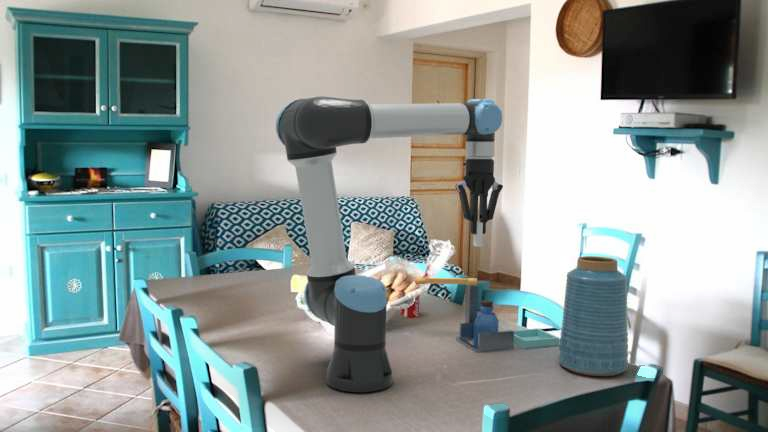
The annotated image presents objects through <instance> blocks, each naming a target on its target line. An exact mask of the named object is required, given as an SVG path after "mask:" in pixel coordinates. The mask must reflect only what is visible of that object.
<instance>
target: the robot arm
mask: <svg viewBox="0 0 768 432" xmlns="http://www.w3.org/2000/svg"><path fill="white" fill-rule="evenodd" d="M502 123H503V113H502V110H501V108H500V107H499V105H498V104H496V102H495V100H493V99H490V98H472V99H468V100H467V102H464V103H463V102H462V103H461V102H451V103H450V102H447V103H446V102H445V103H443V102H442V103H441V102H438V103H369V102H367V100H365V99H347V98H339V97H334V96H333V97H332V96H315V97H309V98H299V99H295V100H293V101H291V102H289V103H287V104H286V105H284V106H283V107H282V108H281V110H280V111H279V113H278V114H277V117H276V120H275V130H276V131H275V132H276V135H277V138H278V140H279V141H280V143H282V144H283V146H285V147H284V148H285V153H286V159H287V161H288V162H289V163H290V164H291V165H293V166H294V167H295V172H296V173H295V174H296V179H297V185H298V192H299V196H300V202H301V209H302V215H303V221H304V228H305V233H306V240H307V245H308V251H309V252H308V253H309V258H310V263H311V265H310V266H309V268H308V270H306V277H307V278H306V279H307V283H306V285H305V286H304V291H303V292H304V293H303V296H304V298H303V299H304V301H305V305H306V306H307V309H308V310H309V311H310V312H311V313H312V314H313V315H314V316H315V317H316V318H317V319H319V320H321V321H323V322H326V323H327V324H330V325H332V326H334V335H333V337H334V338H333V339H334V344H333V345H334V346H333V347H334V349H333V350H332V353H331V357H330V360H329V362H328V365H327V369H326V372H325V378H326V379H325V382H326V384H327V385H328V386H329V387H331V388H333V389H336V390H338V391H339V390H340V391H343V392H348V393H349V392H351V393H367V392H368V393H370V392H377V391H381V390H384V389H387V388H389V387H390V386H392V384H393V382H394V381H393V380H394V373H393V369H392V366H391V363H390V359H389V355H388V353H387V350H386V349H387V348H386V346H387V344H386V343H387V341H386V340H387V339H386V337H387V304H388V295H387V288H386V286H385V283H384V282H383V281H381V280H380V279H377V278H375V277H373V276H367V275H362V274H361V275H360V274H357V275H356V269H355V263H353V262H352V261H350V260H348V258H347V252H346V246H345V245H346V244H345V240H344V233H343V226H342V220H341V213H340V207H339V201H338V194H337V187H336V182H335V174H334V169H333V163H332V161H333V160H334V158H335V157H336V156H337V152H338V151H337V147H342V146H349V145H357V144H366V143H367V142H369V141H370V139H388V138H389V139H392V138H414V137H417V138H418V137H433V136H434V137H441V136H465V141H466V142H465V157H467V159H466V160H465V167H464V168H465V173H464V174H465V175H464V177H463V180H462V181H461V182H460V183H456V184H455V189H456V190H457V192H458V195H459V199H460V200H459V201H460V205H461V209H462V216H463V218H464V220H467V221H469V222H470V234H472V235H473V240H472V246H473V247H476V248H482V247H483V235H485V234H486V233H487V232H486V231H487V230H486V229H487V222H488V221H491V220H493V219H494V215H495V212H496V208H497V204H498V200H499V195H500V193H501V191H502V189H503V187H504V185H503V184H500V183H498V182H497V181H496V178H495V177H494V176H495V174H494V172H495V160H494V159H493V158H494V157H495V139H496V138H495V137H496V136H495V135H496V133H495V132H497V131H499V129H500V127H502ZM467 189H468V191H469V196H470V203H469V199H468V194H467V192H466V190H467ZM490 189H492V191H491V193H490V196H489V192H490ZM488 197H490V198H489V201H488Z"/></svg>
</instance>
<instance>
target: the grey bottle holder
mask: <svg viewBox="0 0 768 432" xmlns="http://www.w3.org/2000/svg"><path fill="white" fill-rule="evenodd" d="M478 299H479V285H478V284H477V285H468V284H465V307H464V308H465V312H464V313H465V314H464V317H465V318H464V322H459V330H458V331H459V335H458V336H457V337H455V341H456V342H458V343H459V344H461V345H462V346H464V347H465V348H467V349H470V350H471V351H473V352H474V353H484V352H493V351H494V352H495V351H503V350H504V351H505V350H506V351H507V350H513V349H514V344H513V343H514V331H513V329H511V330H510V329H509V330H498V331H495V332H482V333H478V347H475V346H474V345H473V344H472V343H470V342H468V341H470V340H469V339H474V323H475V320H476V318H477V316H478V309H479V307H478V306H479V303H478V301H479V300H478Z"/></svg>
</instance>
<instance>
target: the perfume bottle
mask: <svg viewBox="0 0 768 432" xmlns="http://www.w3.org/2000/svg"><path fill="white" fill-rule="evenodd" d="M480 302H481V305H480V308H479V309H480V311H479V312H478V313H477V318H476V320H475V323H474V340H472V341H473V344H472V345H474V346H475V347H477V348H478V333H482V332H495V331H499V319H498V317H497V315H496V313H495V312H493V311H494V305H493V304H494V302H493V300H488V299H487V300H486V299H484V300H481V301H480Z"/></svg>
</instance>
